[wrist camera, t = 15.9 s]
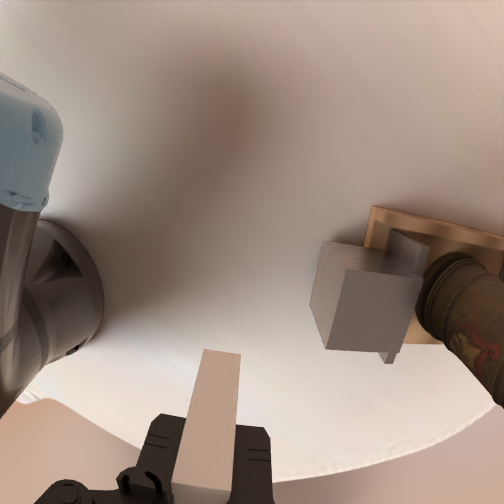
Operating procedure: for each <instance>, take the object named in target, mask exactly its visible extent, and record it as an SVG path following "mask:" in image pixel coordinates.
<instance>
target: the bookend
mask: <svg viewBox="0 0 504 504" xmlns="http://www.w3.org/2000/svg"><path fill="white" fill-rule="evenodd" d="M429 250H430V247H428V246H427V245H425V244H423V243H421V242H419V241H418V240H416V239H414V238H412V237H410V236H408V235H407V234H405V233H403V232H401V231H399V230H396V229H390V233H389V238H388V242H387V247H386V250H382V249H375V248H369V247H363V246H356V245H350V244H343V243H337V242H330V241H324V240H323V243H322V248H321V253H320V258H319V263H318V267H317V272H316V277H315V282H314V286H313V291H312V295H311V300H310V304H309V305H310V308H311V310H312V313H313V316H314V319H315V321H316V324H317V327H318V330H319V333H320V335H321V338H322V341H323V344H324V347H325V349H330V350H345V351H362V352H378V353H379V355H380V357H381V358H382V360H383V362H384V364H393V362H394V359H395V357H396V354H397V353H399V352H400V349H401V346H402V344H403V341H404V338H405V336H406V333H407V330H408V327H409V324H410V321H411V318H412V315H413V312H414V309H415V306H416V303H417V300H418V297H419V294H420V290H421V287H422V284H423V280H424V279H423V278H422V276H423V273H424V269H425V265H426V262H427V258H428V254H429Z"/></svg>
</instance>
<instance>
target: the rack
mask: <svg viewBox="0 0 504 504" xmlns="http://www.w3.org/2000/svg"><path fill="white" fill-rule="evenodd" d="M390 229H396V230H399V231H401V232H403V233H405V234H407V235H408V236H410V237H412V238H414V239H416V240H418V241H419V242H421V243H423V244H425V245H427V246H428V247H430V250H429V254H428V258H427V262H426V265H425V269H424V273H423V276H424V274H425V273H426V271H427V270H428V269H429V267H430V266H431V265H432V264H433V263H434V262H435V261H437V260H438V259H439V258H440V257H442V256H444V255H446V254H449V253H453V252H459V253H465V254H468V255H470V256H471V257H473V258H474V259H475V260H477V261H479V262H480V263H481V264H483V265H484V267H485V268H486V269H487V271H488V272H490V273H493V274H495V275H496V276H498V277H499V278H500V279H501V280H502V282H504V237H502V236H498V235H495V234H491V233H487V232H483V231H480V230H476V229H472V228H468V227H464V226H460V225H456V224H452V223H447V222H443V221H439V220H435V219H430V218H426V217H421V216H417V215H412V214H408V213H403V212H398V211H394V210H389V209H384V208H379V207H374V206H371V211H370V216H369V221H368V226H367V231H366V236H365V240H364V245H363V247H369V248H375V249H382V250H386V247H387V242H388V238H389V233H390ZM423 276H422V278H423ZM403 343H405V344H444V343H443V342H441V341H438V340H436V339H434V338H433V337H432V336H431V335H430V334H429V333H428V332H426V331H425V330H424V329H423V328H422V327H421V325H420V323H419V321H418V319H417V316H416V312H415V309H414V312H413V315H412V318H411V321H410V324H409V327H408V330H407V333H406V336H405V338H404V341H403Z"/></svg>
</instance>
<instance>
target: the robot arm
mask: <svg viewBox="0 0 504 504" xmlns="http://www.w3.org/2000/svg"><path fill="white" fill-rule="evenodd" d="M62 140H63V127H62V123H61V119H60V117H59V115H58V113H57V112H56V111H55V109H54V108H53V107H52V106H51V105H50V104H49V103H48V102H47V101H46V100H44V99H43V98H42V97H40V96H39V95H37V94H36V93H34V92H33V91H31V90H29V89H28V88H26V87H25V86H23V85H21V84H20V83H18V82H16V81H14V80H12V79H11V78H9V77H7V76H5V75H3V74H1V73H0V419H1V418H2V416H3V415H4V414H5V413H6V411H7V410H8V409H9V407H10V406H11V405H12V404H13V402H14V401H15V400H16V399H17V398H18V396H19V395H20V394H21V393H22V392H23V390H24V389H25V388H26V387H27V386H28V384H29V383H30V382H31V381H32V380H33V378H34V377H35V376H36V375H37V373H38V372H39V371H40V370H41V369H42V368H43V367H44V366H45V365H47V364H49V363H52V362H54V361H56V360H59V359H61V358H63V357H65V356H67V355H70V354H73V353H75V352H77V351H78V350H80V349H81V348H82V347H84V346H85V345H86V344H87V342H88V341H89V340H90V339H91V338H92V336H93V335H94V334H95V333H96V331H97V329H98V328H99V325H100V323H101V320H102V316H103V308H104V299H103V290H102V285H101V281H100V278H99V275H98V272H97V270H96V267H95V265H94V263H93V261H92V259H91V258H90V256H89V254H88V253H87V251H86V250H85V248H84V247H83V246H82V245H81V243H80V242H79V241H78V240H77V239H76V238H75V237H74V236H73V235H72V234H71V233H69V232H68V231H67V230H65V229H64V228H62V227H61V226H59V225H57V224H55V223H52V222H49V221H45V220H38V219H39V216H40V212H41V211H42V210H43V208H44V207H45V206H46V205H47V202H48V199H49V190H48V188H49V184H50V181H51V177H52V174H53V170H54V167H55V164H56V161H57V158H58V154H59V151H60V148H61V145H62ZM240 358H241V354H234V353H227V352H220V351H213V350H206V349H204V351H203V355H202V359H201V362H200V366H199V370H198V374H197V378H196V382H195V386H194V390H193V394H192V398H191V402H190V406H189V410H188V414H187V418H183V417H177V416H172V415H167V414H162V413H161V414H160V415H158V416H157V417H156V418H155V419H154V420H153V421H152V422H151V425H150V427H149V430H148V433H147V436H146V439H145V441H144V445H143V447H142V450H141V453H140V456H139V459H138V462H137V464H136V466H135V467H130V468H127V469H125V470H124V471H122V472H120V474H119V475H118V477H117V478H116V480H117V484H118V487H119V489H116V490H108V491H105V490H88V489H87V488H86V487H85V486H84V485H83V484H82V483H80V482H77V481H75V480H66V479H64V480H60V481H57V482H55V483H54V484H52V485H51V486H50V487H49V488H48V489H47V490H46V491H45V492H44V493H43V495H42V496H41V497H40V498H39V499H38V500H37V501H36V502H35V503H34V504H275V503H274V500H273V492H272V468H271V453H270V452H271V445H270V437H269V436H268V434H267V432H266V430H265V429H264V427H255V426H245V425H236V414H237V400H238V386H239V372H240Z"/></svg>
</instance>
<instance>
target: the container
mask: <svg viewBox="0 0 504 504" xmlns="http://www.w3.org/2000/svg"><path fill="white" fill-rule="evenodd" d="M423 279H424V280H423V284H422V287H421V290H420V294H419V297H418V300H417V303H416V306H415V312H416V316H417V319H418V321H419V323H420V325H421V327H422V328H423V329H424V330H425V331H426V332H428V333H429V334H430V335H431V336H432V337H433V338H434V339H436V340H438V341H441V342H443V343H444V345H445V346H446V348H447V349H448V350H449V351H451V352H452V353H454V354H455V355H456V356H457V357H458V358H459V359H460V360H461V361H462V362H463V364H464V365H465V366H466V367H467V368H468V369H469V370H470V371H471V373H472V374H473V375H474V376H475V377H476V378H477V379H478V381H479V382H480V383H481V384H482V385H483V386H484V387H485V389H486V390H487V391H488V392H489V393H490V395H491V396H492V398H493V401H494V402H495V403H496V404H498V405H500V406H502V407H503V409H504V282H502V280H501V279H500V278H499V277H498V276H496V275H495V274H493V273H490V272H488V271H487V269H486V268H485V267H484V265H483V264H481V263H480V262H479V261H477V260H475V259H474V258H473V257H471V256H470V255H468V254H465V253H459V252H453V253H449V254H446V255H444V256H442V257H440V258H439V259H438V260H437V261H435V262H434V263H433V264H432V265H431V266H430V267H429V269H428V270H427V271H426V273H425V274H424V276H423Z"/></svg>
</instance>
